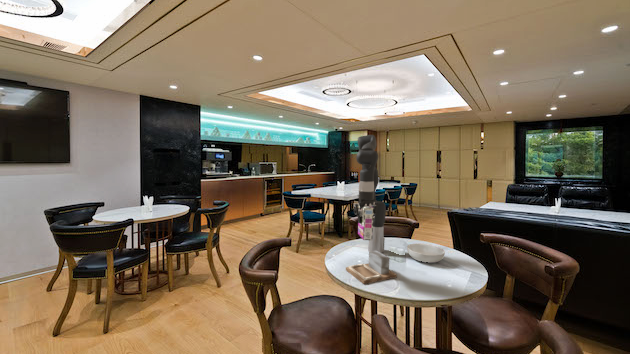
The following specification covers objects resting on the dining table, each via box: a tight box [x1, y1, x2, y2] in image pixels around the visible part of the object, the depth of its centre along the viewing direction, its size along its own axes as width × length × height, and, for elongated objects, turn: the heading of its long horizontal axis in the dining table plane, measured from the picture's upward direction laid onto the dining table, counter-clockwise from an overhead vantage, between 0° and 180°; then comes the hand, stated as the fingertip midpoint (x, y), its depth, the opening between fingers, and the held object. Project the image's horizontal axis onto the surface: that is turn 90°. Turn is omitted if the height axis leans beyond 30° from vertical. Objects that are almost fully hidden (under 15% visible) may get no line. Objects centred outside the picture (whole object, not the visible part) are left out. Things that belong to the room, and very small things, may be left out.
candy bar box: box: [357, 206, 374, 241], centre depth 134 cm, size 11×5×16 cm, turn 5°
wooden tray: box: [345, 251, 398, 285], centre depth 137 cm, size 20×17×10 cm
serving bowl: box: [406, 243, 446, 264], centre depth 157 cm, size 21×21×7 cm
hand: (365, 222), depth 134 cm, fingers closed on candy bar box, 6 cm apart
